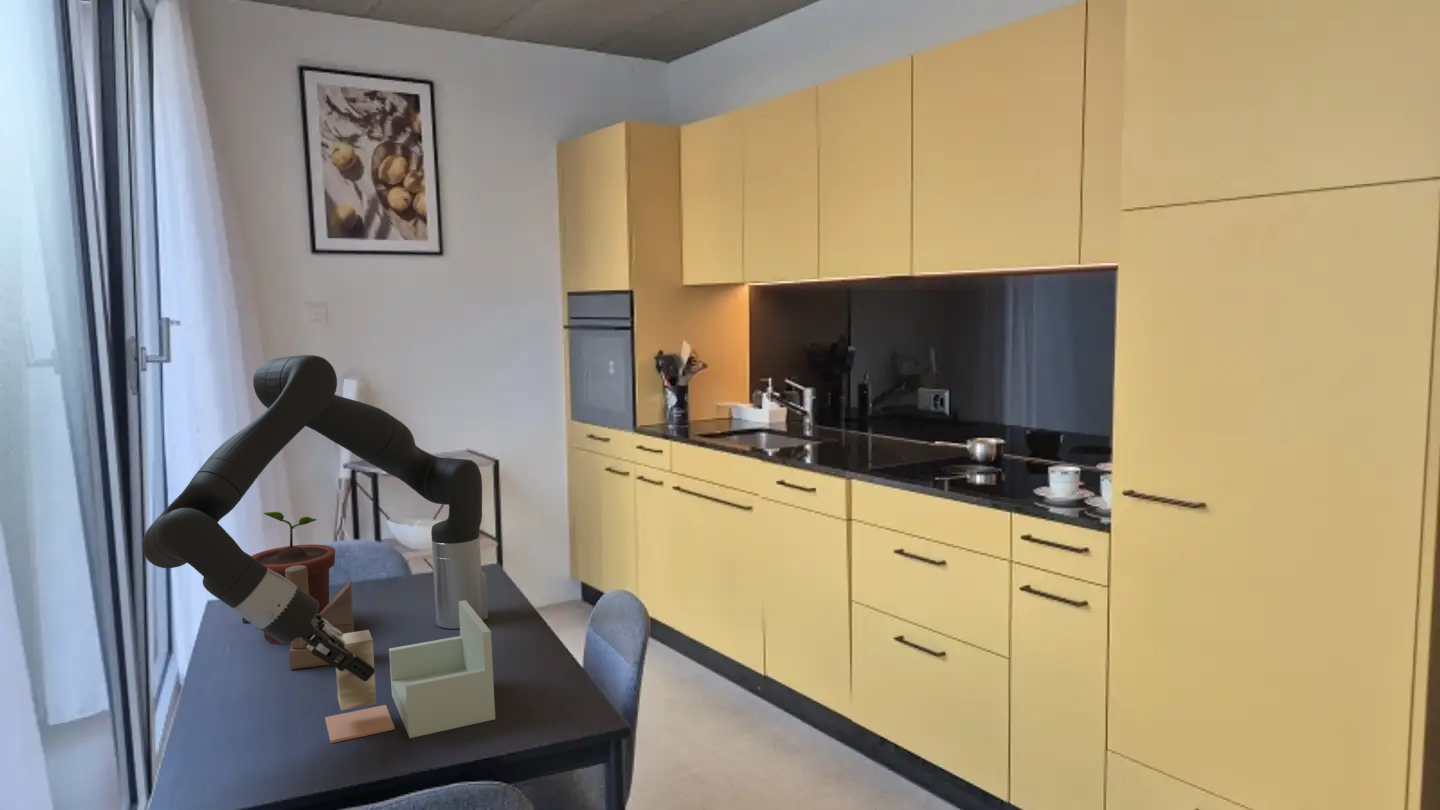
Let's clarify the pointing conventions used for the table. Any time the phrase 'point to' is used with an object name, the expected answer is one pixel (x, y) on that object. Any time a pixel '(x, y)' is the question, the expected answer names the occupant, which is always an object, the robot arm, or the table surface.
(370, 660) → the birch block
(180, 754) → the table surface
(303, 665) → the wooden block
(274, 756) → the table surface
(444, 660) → the cubby
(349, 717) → the mat
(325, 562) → the potted plant
